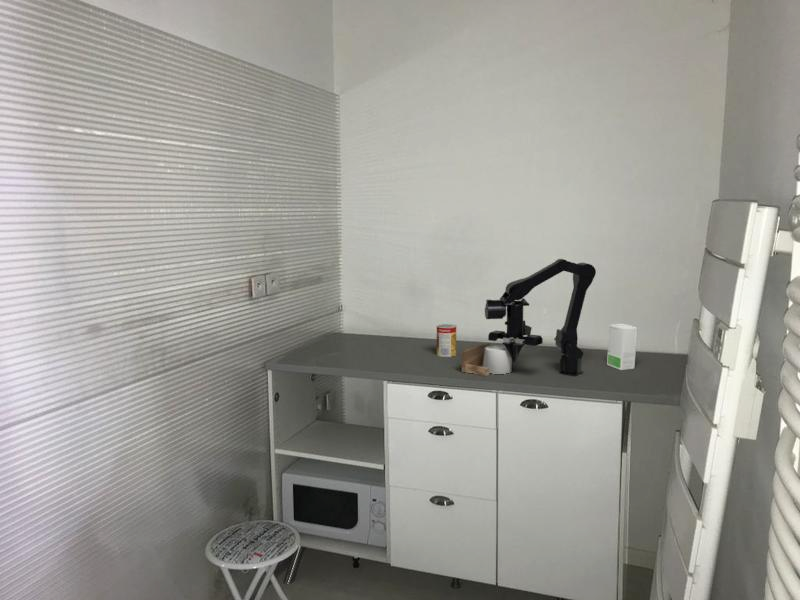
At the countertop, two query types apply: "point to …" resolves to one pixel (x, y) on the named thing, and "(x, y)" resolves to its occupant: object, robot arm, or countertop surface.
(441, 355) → the canned food
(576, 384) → the countertop surface
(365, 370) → the countertop surface
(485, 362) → the toilet tissue
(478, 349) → the roll cradle
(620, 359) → the skincare box
